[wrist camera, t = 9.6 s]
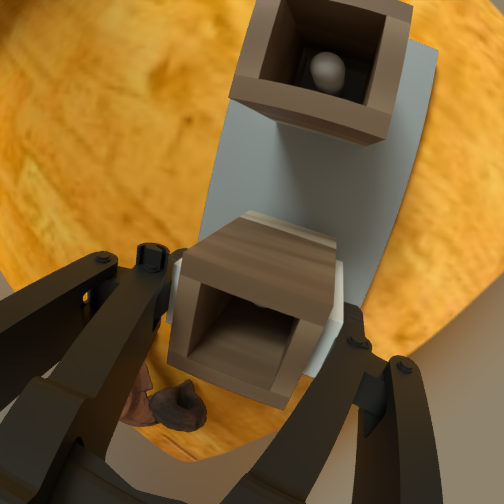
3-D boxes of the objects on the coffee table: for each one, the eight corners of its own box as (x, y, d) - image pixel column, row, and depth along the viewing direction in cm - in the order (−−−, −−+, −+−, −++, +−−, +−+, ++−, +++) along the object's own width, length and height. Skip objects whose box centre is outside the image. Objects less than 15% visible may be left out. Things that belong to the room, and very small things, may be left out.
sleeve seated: (297, 44, 14) (265, -27, 7) (383, 67, 14) (413, 5, 6) (276, 122, 16) (228, 97, 9) (362, 147, 15) (385, 139, 8)
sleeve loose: (250, 209, 17) (183, 252, 10) (336, 238, 16) (333, 305, 9) (230, 287, 19) (166, 363, 12) (307, 315, 18) (283, 410, 11)
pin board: (262, 11, 15) (226, -44, 9) (432, 56, 13) (473, 14, 7) (195, 290, 22) (144, 338, 16) (340, 341, 21) (335, 410, 14)
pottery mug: (133, 393, 30) (71, 402, 22) (146, 312, 31) (81, 306, 23) (223, 444, 24) (161, 475, 17) (246, 349, 25) (181, 358, 18)
